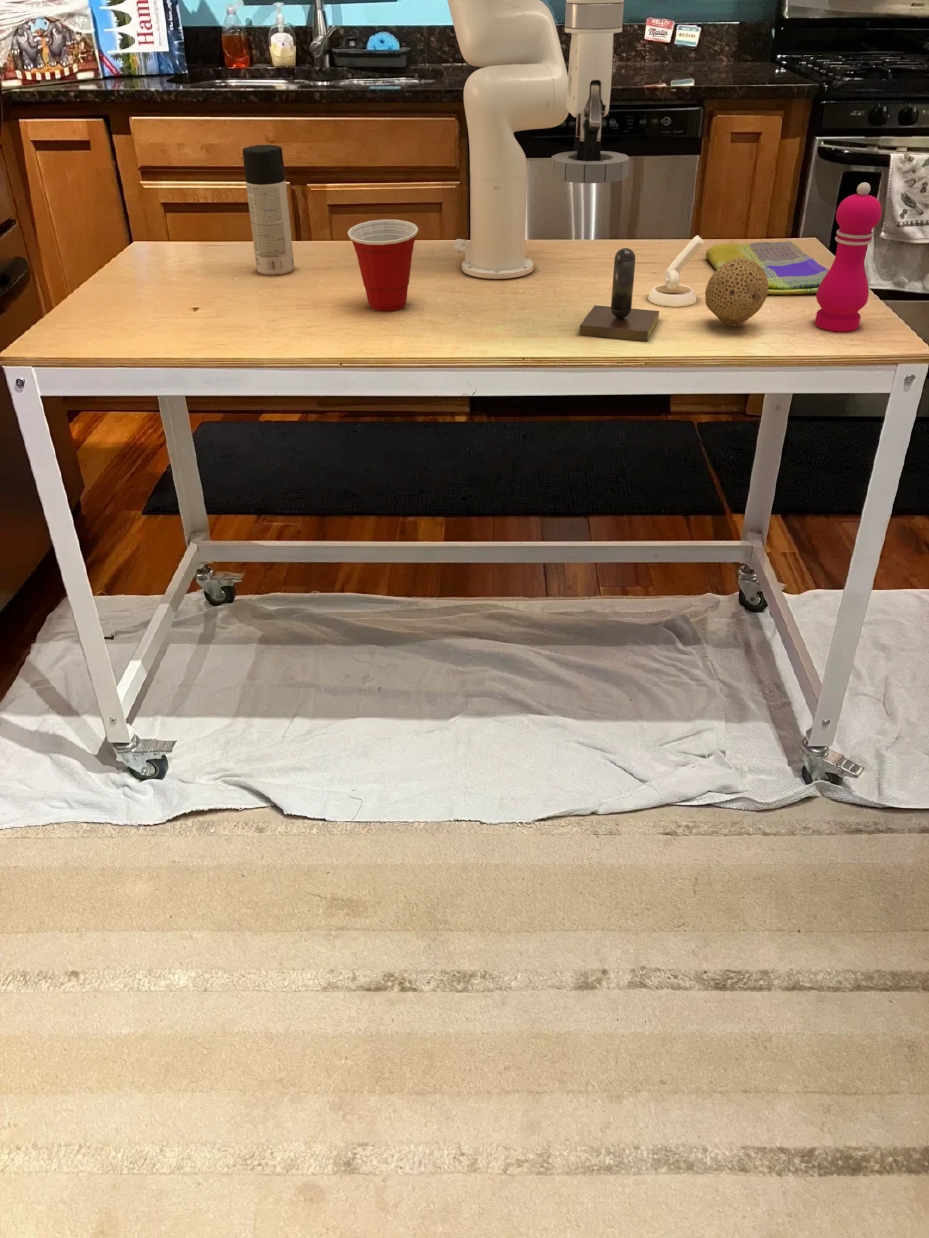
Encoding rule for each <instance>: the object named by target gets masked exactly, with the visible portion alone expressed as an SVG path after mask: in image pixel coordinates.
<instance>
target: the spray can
mask: <svg viewBox="0 0 929 1238" xmlns="http://www.w3.org/2000/svg"><path fill="white" fill-rule="evenodd" d="M283 155H284V153H283V148H282V146H280V145H275V144H274V145H273V144H256V145H251V146H247V147H244V148H242V159H243V168H244V177H245V178H244V179H245V185H246V194H247V195H246V196H247V202H248V211H249V219H250V227H251V234H252V235H251V236H252V243H253V251H254V260H255V267H256V271H257V273H258V274H260V275H263V276H265V275H266V276H283V275H288V274H289V273H292V272H293V271H294V270H295V259H294V250H293V240H292V231H291V230H292V229H291V228H292V227H291V219H290V209H289V200H288V191H287V180H286V172H285V163H284V157H283Z"/></svg>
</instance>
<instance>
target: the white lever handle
mask: <svg viewBox="0 0 929 1238" xmlns="http://www.w3.org/2000/svg"><path fill="white" fill-rule="evenodd" d="M704 244H705V243H704V240H703V238H702V237H700V235H698V234H697V235H695V236H694V237H693V238H692V239H691V240H690V241H689V242H688V243H687V245H686V246H685V247H684V248H683V249H682V250H681V251H680V252H679V254H678V255H677V256H676V257H675V259H673V260H672V262H671V263H670V264H669V265H668V266H667V268H666V269H665V271H664V276H663V277H664V278H663V280H664V283H662V284H657V285H655V286H653V287H652V289H651V290H650V292H649V294H648V296H647V300H648V301H649V303H652V304H655V305H657V306H663V307H672V308H673V307H675V308H678V307H688V306H691V305H694V304H696V302H697V296H696V293H695V290H694V289H693V288H692V287H691V286H688V285H685V284H680V282H681V279H680V274H681V272H682V270H683V269H684V267H685V266H687V265H688V263H689V262H690V261H691V260H692V259H693V258H694V257H695V255H696V254H697V253H698V252H699V251H700V250H701V248H702V247H704Z"/></svg>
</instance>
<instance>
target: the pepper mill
mask: <svg viewBox="0 0 929 1238" xmlns="http://www.w3.org/2000/svg"><path fill="white" fill-rule="evenodd" d="M870 192H871V185H870V183H868V182H861V183H860V184H858V185H857V188H856V193H854V194H851V195H849V196H847V197H844V199H843V200H842V201H841V202H840V203H839V205H838V207H837V210H836V213H835V220H836V221H835V222H836V223H837V224H838V226H839V228H838V229H837V230H836V236H835V237H834V240H835V242H837V246H836V252H835V256H834V260H833V262H832V264H831V267H829V271H828V273H827V274H826V275H825V277H824V278H823V280H822V282H821V284H820V286H819V288H818V291H817V293H816V297H815V298H816V301H817V303H818V306H819V307H820V309H818V310H817V311H816V314H815V321H814V325H815V326H816V327H818V328H820V329H821V330H826V331H830V332H838V333H839V332H840V333H847V332H852V331H856V330H857V329H858V328H859V327H860V321H861V318H862V317H861V314H860V313H859V311H860V310H861V309H863V308H864V307H865V306H866V305H867V303H868V301H869V294H870V292H869V291H870V290H869V281H868V277H867V273H866V266H865V260H866V253H867V249H868V246H869V245H870V244H872V243H873V236H874V231H872V230H873V229H874V228H875V227H876V226H877V225H878V224H879V223H880V221H881V218H882V213H883V211H882V204H881V202H880V200H879V199H877V198H876V197H875V196H873V195H870V194H869V193H870Z"/></svg>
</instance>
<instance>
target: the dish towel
mask: <svg viewBox="0 0 929 1238" xmlns="http://www.w3.org/2000/svg"><path fill="white" fill-rule="evenodd" d="M705 257H706V259H707V260H708V261H709V263H710V264H711V265H712V266H713V267H714V269H715V271H716V270H717V269H718V268H719V267H720V266H722V265H723V264H724V263H726V262H727V261H729V260H732V259H734V258H746V259H749V260H752V261H754V262H756V263H757V264H758V265H759V266H760V267H761V268H762V269H763V270H764V272H765V273H766V276H767V280H768V293H767V295H801V294H802V295H804V294H817V291H818V288H819V286H820V284H821V282H822V280H823V278H824V277H825V275H826V274H827V273H828V271H829V270H830V268H829V269H828V268H827V267H825V266H823V265H822V264H819V263H818V262H817V261H816V260H815V259H814V258H812V257H810V256H809V255H808V254H807V253H804V251H803V250H802V249H801V248H800V246H799V245H798V244H796V243H793V241H791V240H788V241H776V242H769V241H762V242H761V241H760V242H752V243H742V244H741V243H720V244H716V245H713V246H711V247H709V248H708V249H707V250H706V251H705Z"/></svg>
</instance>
